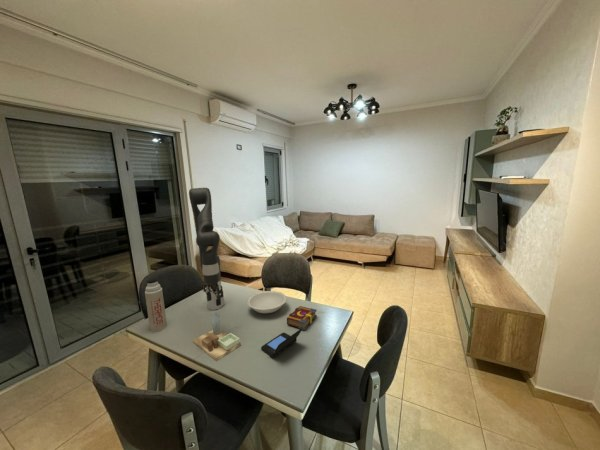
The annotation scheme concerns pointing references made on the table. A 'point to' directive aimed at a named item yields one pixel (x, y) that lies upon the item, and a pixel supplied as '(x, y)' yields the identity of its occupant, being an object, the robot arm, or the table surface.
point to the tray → (228, 341)
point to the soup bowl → (267, 301)
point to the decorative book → (301, 317)
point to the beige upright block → (209, 340)
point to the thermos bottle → (155, 306)
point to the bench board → (216, 351)
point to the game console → (279, 343)
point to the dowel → (216, 323)
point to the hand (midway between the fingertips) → (213, 302)
